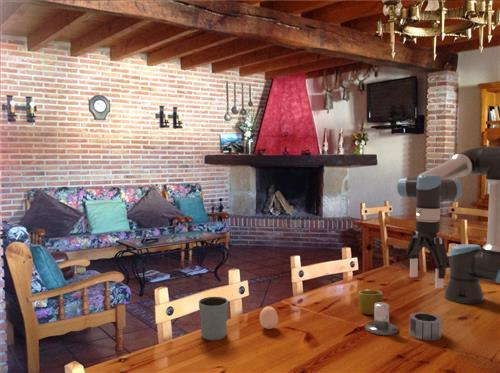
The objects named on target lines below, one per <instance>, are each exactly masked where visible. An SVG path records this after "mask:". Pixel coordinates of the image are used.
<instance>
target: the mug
mask: <svg viewBox="0 0 500 373" xmlns="http://www.w3.org/2000/svg"><path fill="white" fill-rule="evenodd" d="M357 299H358V307H359V311H360V313H361V314H363V315H368V316H369V315H370V316H374V305H375V303H377V302H383V301H384V293H383V292H382V291H380V290H375V289H370V288H369V289H364V290H359V291H358V294H357ZM383 303H384V302H383Z"/></svg>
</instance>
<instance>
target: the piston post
mask: <svg viewBox="0 0 500 373" xmlns="http://www.w3.org/2000/svg"><path fill="white" fill-rule="evenodd" d="M373 319H374V320H373V321H370V322H367V323H366V324H365V330H366V331H367V332H368V333H369V334H372V335H376V336H382V337H385V336H386V337H388V336H389V337H390V336H394V335H396V334H398V331H399V328H398V326H396V325H395V324H392V323H390V304H389V303H387V302H377V303H375V305H374V315H373Z"/></svg>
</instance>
